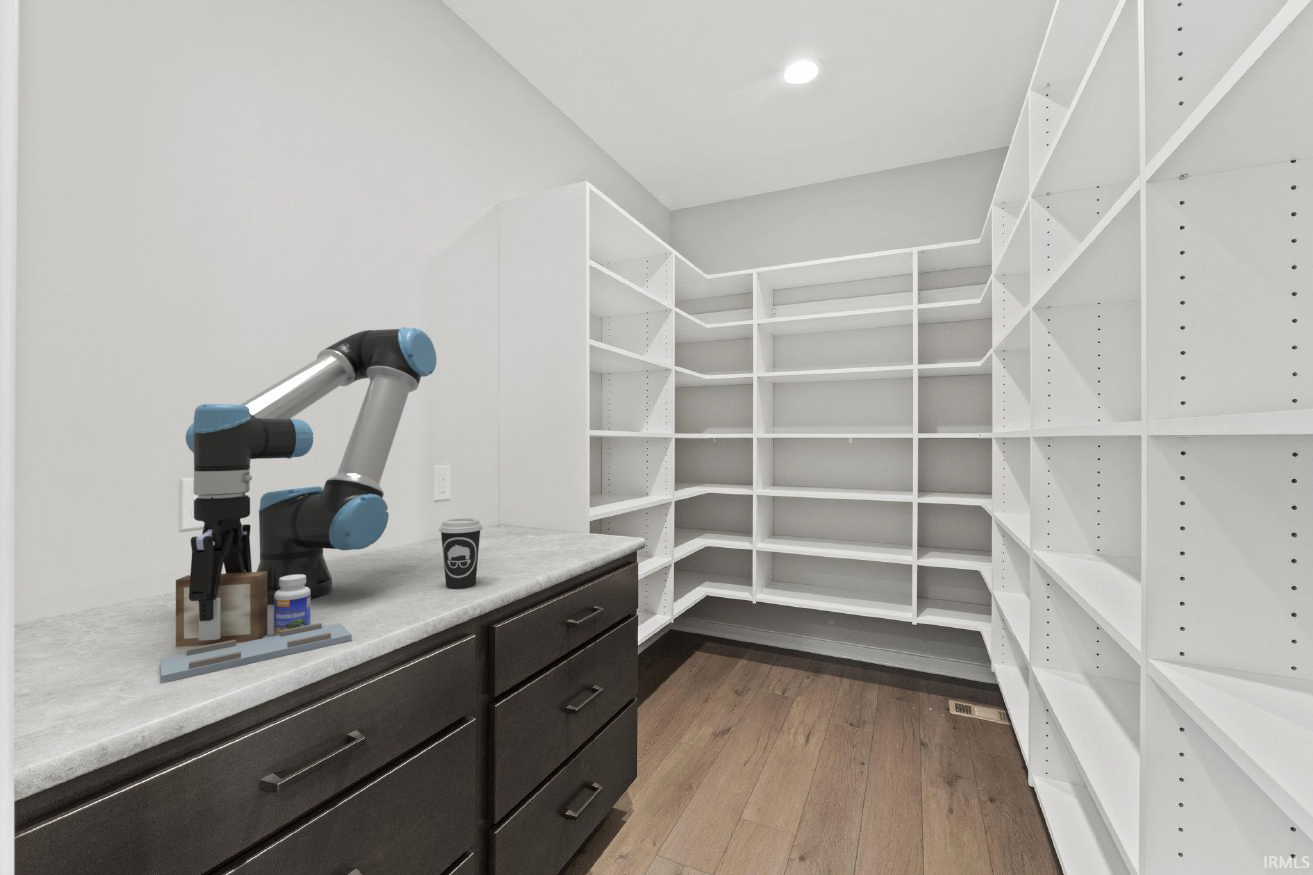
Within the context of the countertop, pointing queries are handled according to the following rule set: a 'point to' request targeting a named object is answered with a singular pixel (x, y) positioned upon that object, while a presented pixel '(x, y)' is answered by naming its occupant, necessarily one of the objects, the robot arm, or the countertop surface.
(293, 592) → the pill bottle
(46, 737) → the countertop surface
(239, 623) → the frame
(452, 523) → the coffee cup
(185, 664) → the ledge
